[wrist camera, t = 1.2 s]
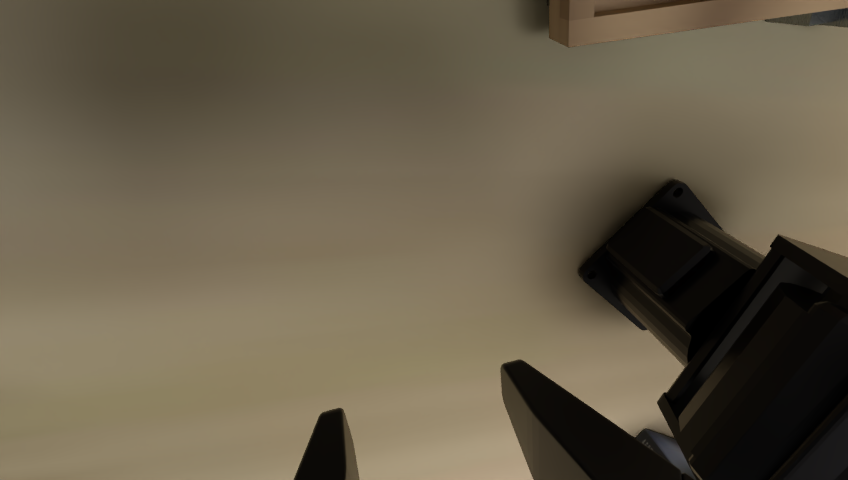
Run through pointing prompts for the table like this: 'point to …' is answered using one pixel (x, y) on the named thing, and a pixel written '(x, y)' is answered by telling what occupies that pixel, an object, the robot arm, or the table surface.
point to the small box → (665, 449)
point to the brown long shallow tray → (663, 16)
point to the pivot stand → (813, 18)
